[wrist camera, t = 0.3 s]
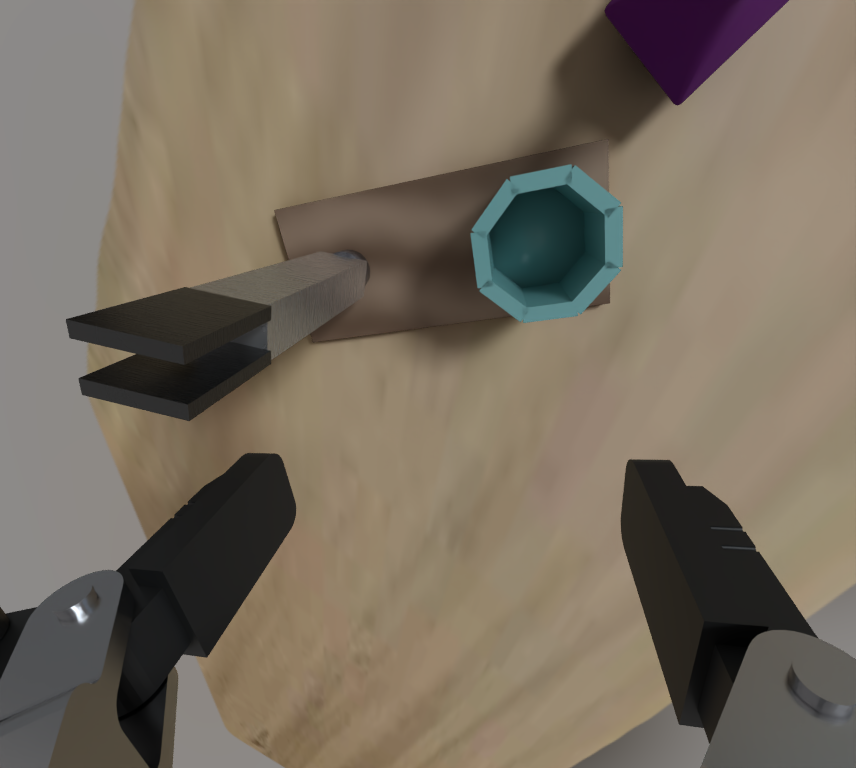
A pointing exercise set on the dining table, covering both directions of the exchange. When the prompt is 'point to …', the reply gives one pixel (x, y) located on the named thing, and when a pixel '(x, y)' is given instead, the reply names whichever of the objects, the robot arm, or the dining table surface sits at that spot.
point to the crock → (548, 244)
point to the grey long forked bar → (215, 331)
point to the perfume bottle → (687, 36)
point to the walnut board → (419, 242)
